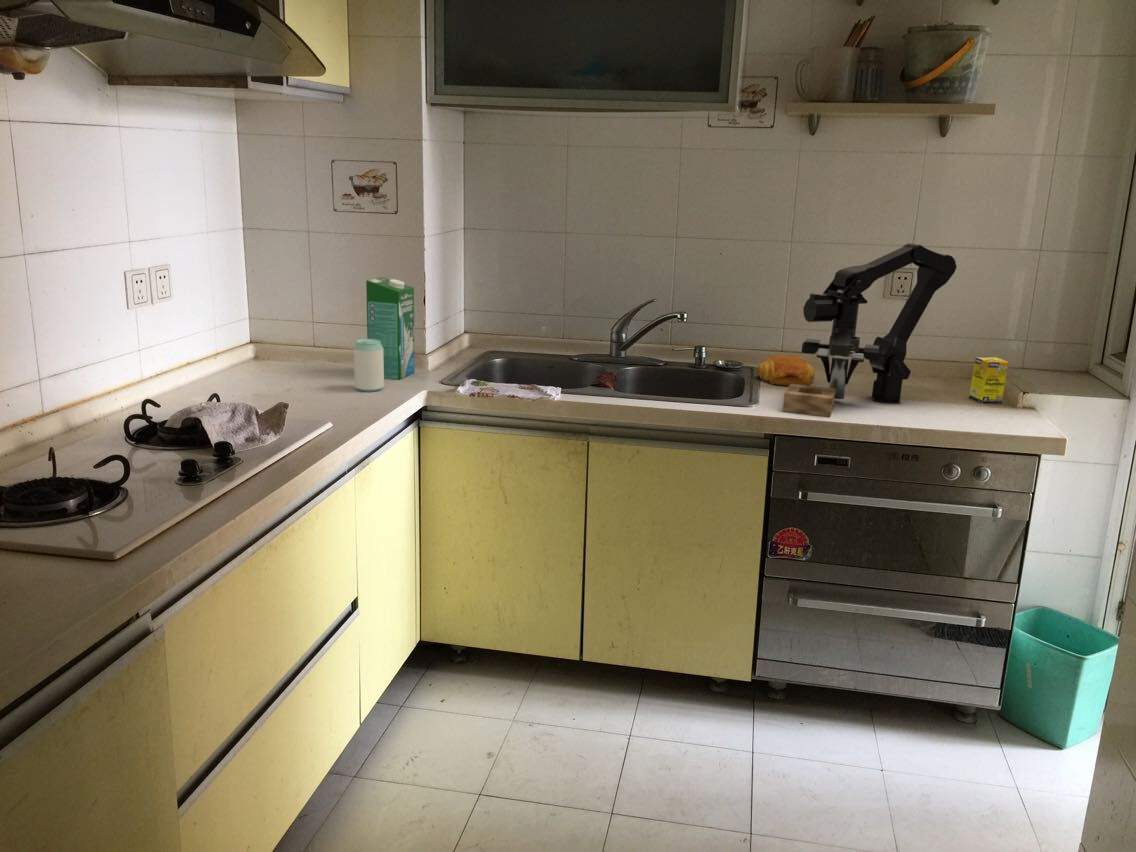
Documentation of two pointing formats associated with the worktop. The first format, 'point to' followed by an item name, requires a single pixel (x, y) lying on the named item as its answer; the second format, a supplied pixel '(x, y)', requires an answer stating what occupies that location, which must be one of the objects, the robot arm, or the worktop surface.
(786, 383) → the croissant
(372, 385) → the can
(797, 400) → the bore block
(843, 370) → the pin
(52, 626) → the worktop surface
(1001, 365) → the supplement box
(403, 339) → the milk carton
